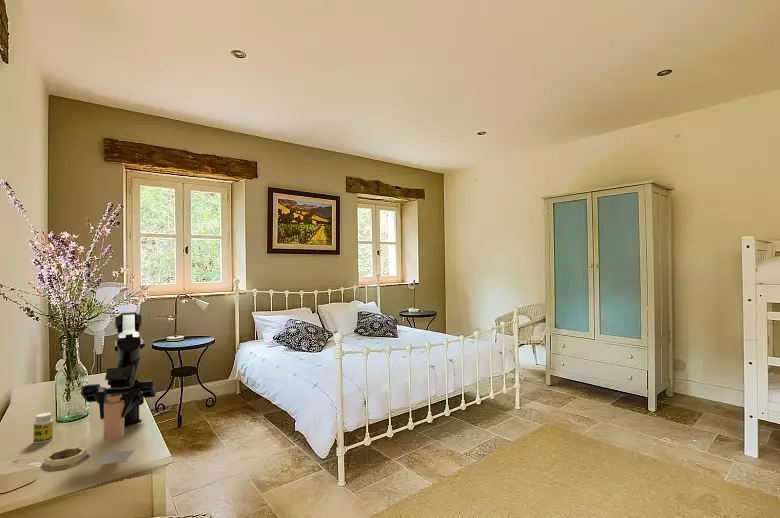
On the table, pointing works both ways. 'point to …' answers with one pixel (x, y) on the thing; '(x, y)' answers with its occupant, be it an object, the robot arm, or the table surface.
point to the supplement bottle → (43, 428)
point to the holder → (65, 458)
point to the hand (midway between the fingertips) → (112, 418)
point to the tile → (114, 457)
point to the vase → (113, 417)
